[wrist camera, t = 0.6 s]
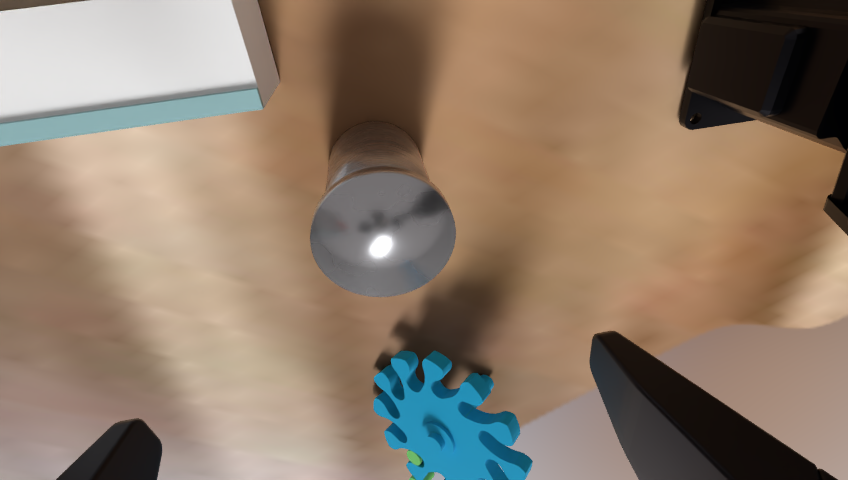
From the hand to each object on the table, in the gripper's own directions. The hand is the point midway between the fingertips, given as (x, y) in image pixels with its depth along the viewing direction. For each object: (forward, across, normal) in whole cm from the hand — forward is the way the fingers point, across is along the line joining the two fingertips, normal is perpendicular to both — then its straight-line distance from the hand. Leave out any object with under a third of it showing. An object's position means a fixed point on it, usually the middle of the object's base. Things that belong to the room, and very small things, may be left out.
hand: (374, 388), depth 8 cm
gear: (+12, -1, +16) cm, 20 cm away
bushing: (+12, 0, 0) cm, 12 cm away
